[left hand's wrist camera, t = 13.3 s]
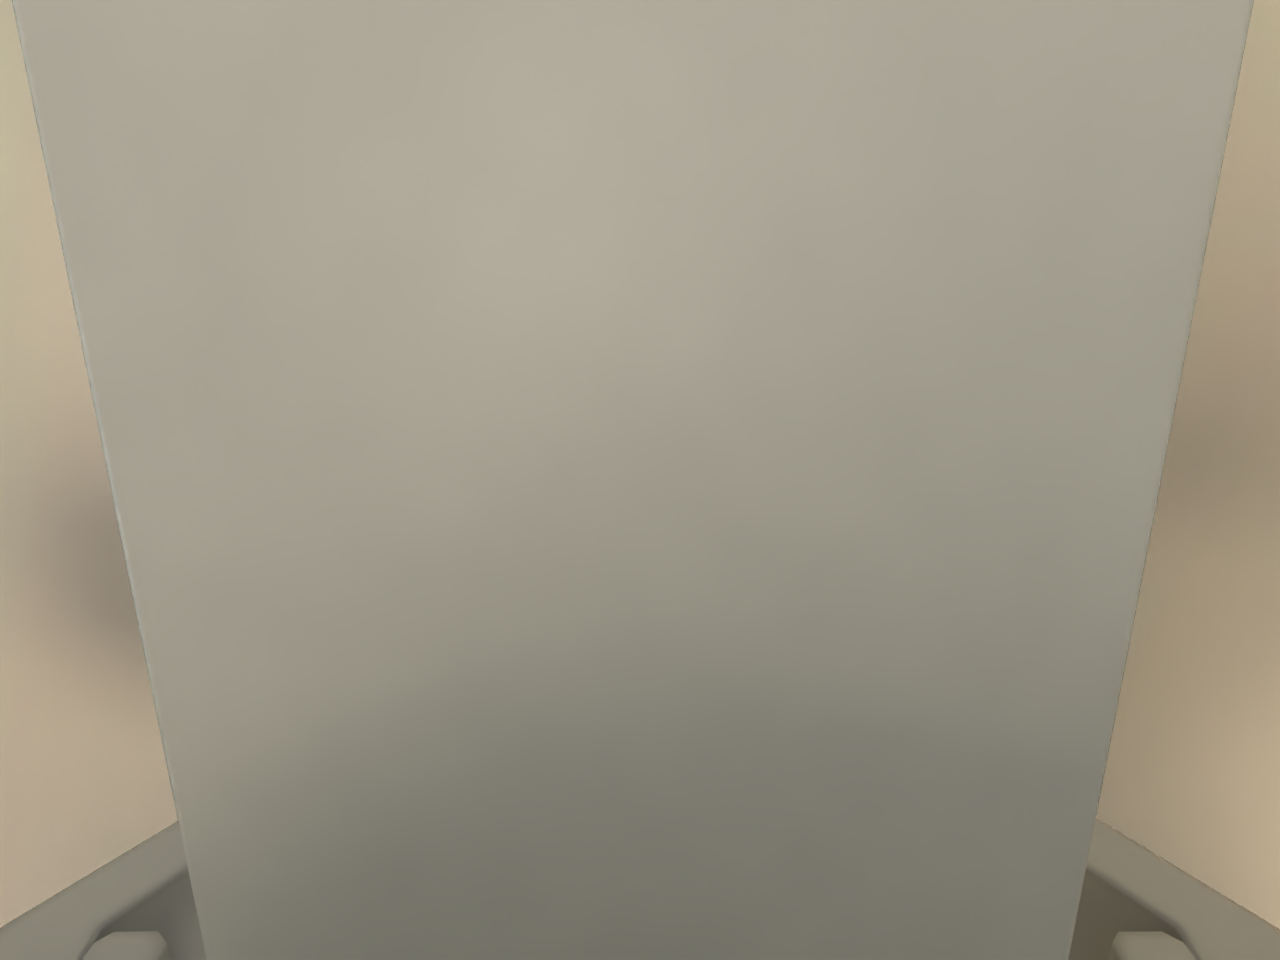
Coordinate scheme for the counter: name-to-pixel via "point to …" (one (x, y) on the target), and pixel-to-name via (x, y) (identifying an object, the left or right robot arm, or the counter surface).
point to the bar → (634, 451)
